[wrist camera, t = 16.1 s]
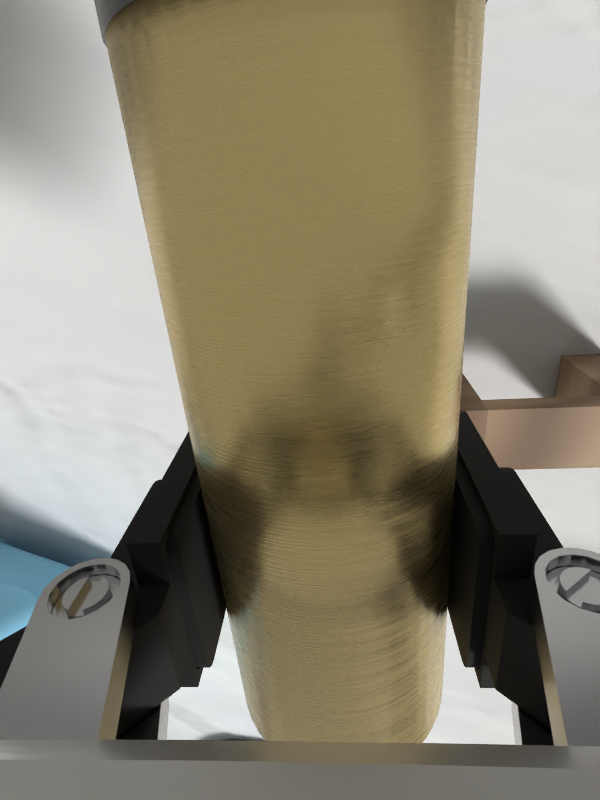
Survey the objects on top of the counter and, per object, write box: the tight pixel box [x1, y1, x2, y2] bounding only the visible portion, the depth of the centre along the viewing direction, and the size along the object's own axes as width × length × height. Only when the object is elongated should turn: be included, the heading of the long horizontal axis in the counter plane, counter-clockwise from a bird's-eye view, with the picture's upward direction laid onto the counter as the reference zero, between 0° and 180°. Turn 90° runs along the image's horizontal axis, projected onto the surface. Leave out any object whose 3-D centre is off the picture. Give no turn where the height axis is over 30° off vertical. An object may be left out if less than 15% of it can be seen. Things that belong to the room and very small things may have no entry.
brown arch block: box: [460, 354, 600, 470], centre depth 23 cm, size 10×3×6 cm, turn 94°
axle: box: [94, 0, 487, 743], centre depth 8 cm, size 14×4×4 cm, turn 5°
